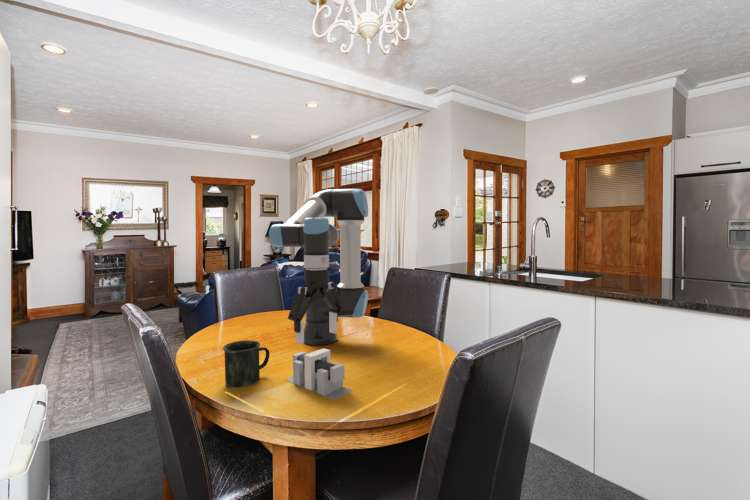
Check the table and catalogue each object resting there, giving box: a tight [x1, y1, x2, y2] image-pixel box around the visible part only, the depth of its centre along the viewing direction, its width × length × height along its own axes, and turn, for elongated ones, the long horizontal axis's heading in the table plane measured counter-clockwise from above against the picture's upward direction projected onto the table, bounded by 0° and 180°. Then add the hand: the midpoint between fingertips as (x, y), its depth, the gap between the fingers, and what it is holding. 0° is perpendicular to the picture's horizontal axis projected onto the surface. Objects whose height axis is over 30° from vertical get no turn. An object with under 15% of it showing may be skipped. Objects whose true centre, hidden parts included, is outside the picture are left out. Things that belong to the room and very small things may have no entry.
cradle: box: [285, 360, 354, 401], centre depth 120 cm, size 22×8×8 cm, turn 51°
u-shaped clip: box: [304, 348, 331, 392], centre depth 119 cm, size 3×8×10 cm, turn 141°
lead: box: [292, 351, 346, 383], centre depth 119 cm, size 19×4×4 cm, turn 51°
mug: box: [222, 339, 270, 388], centre depth 124 cm, size 11×15×12 cm
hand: (317, 337), depth 119 cm, fingers open, 13 cm apart
